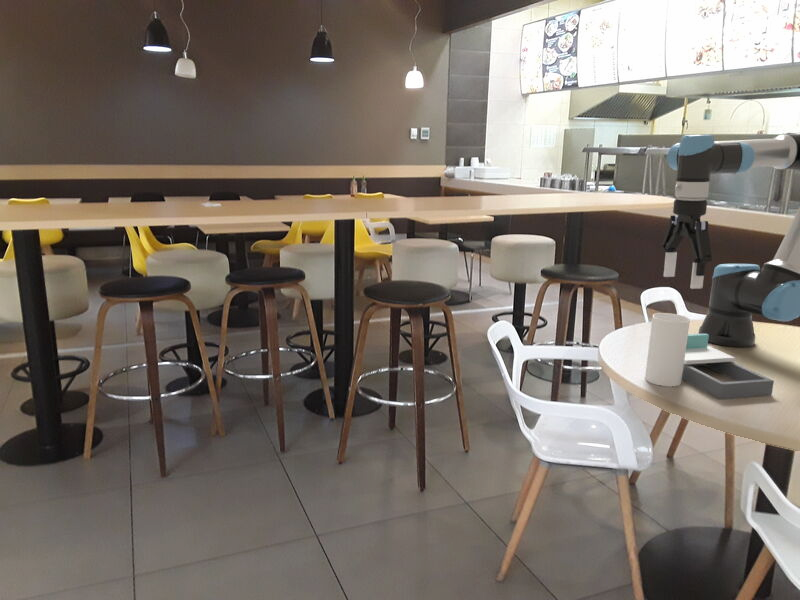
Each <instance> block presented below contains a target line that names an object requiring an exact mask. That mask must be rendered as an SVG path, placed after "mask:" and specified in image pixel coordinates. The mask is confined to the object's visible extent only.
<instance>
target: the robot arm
mask: <svg viewBox="0 0 800 600" xmlns="http://www.w3.org/2000/svg"><path fill="white" fill-rule="evenodd" d="M666 155H667V156H666V160H667V164H668V166H669V168H671V169H672V170H673V171H676V179H675V181H676V182H675V186H674V190H675V192H674V197H675V200H673V210H672V213H673V214H671V215H670V217H669V222H668V223H669V224H668V227H667V229H666V232H665V235H664V236H663V240H662V242H661V246H660V247H661V249H663V250H664V253H665V256H664V266H663V269H664V270H663V275H662V276H663V277H664V278H670V277H671V278H673V277H674V278H675V277H676V268H677V267H676V266H677V257H678V256H677V255H678V247H679V245H680V244H681V243H682V241H683V239H684V237H685V238H686V239H687V240H688V241H689V245H690V246H691V247H690V248H691V252H692V255H693V257H694V260H693V261H692V269H691V275H690V276H691V277H690V278H691V279H690V286H689V287H690V289H692V290H694V289H697V290H698V289H703V286H704V278H705V271H706V263H708V262H712V261H713V254H712V248H711V241H710V235H709V221H707V220H702V221H701V217H702V216H705V215H706V214H707V207H708V201H707V200H706V199H707V198H709V191H710V180H711V175H713V174H717V175H718V174H732V175H733V174H734V175H736V174H741V173H742V174H743V173H745V172H747V171H748V170H749V169H751V168H763V167H764V168H766V167H772V168H773V169H777V170H792V171H793V170H794V171H800V132H796V133H794V132H793V133H789V134H787V133H786V134H778V135H777V136H775V137H773V138H762V139H761V138H760V139H744V140H743V139H740V140H716V141H715V136H714V135H713V134H685V135H683V136H682V137H681V138H680V142H677V143H674V144H673V145H672V146H671V147H670V148H669V150H668V152H667V154H666ZM711 278H712V279H711V286H710V292H709V293H710V295H709V301H708V302H709V303H708V310H707V313H706V315H705V317H704V318H703V322H702V324H701V325H700V326H699V328H698V333H697V334H708V335H709V338H708V343H711V344H714V345H719V346H724V347H732V348H746V347H751V346H754V345H755V342H756V334H755V328H754V322H753V314H754V315H758V316H761V317H764V318H767V319H769V320H775V321H779V322H791V321H793V320H795V319H798V318H799V317H800V206H799V207H798V209H797V211H796V213H795V215H794V217H793V219H792V221H791V224H790V225H789V227H788V229H787V231H786V233H785V235H784V237H783V239H782V241H781V242H780V245H779V247H778V249H777V251H776V253H775V254H774V257H773V259H771V260H770V261H767V262H764V264H763V266H762V267H760V265H759V264H754V263H721V264H718V265H717V266H715V267H714V271H713V275H712V276H711Z"/></svg>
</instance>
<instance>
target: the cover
mask: <svg viewBox="0 0 800 600" xmlns="http://www.w3.org/2000/svg"><path fill="white" fill-rule="evenodd" d="M708 338H709V335H708V334H698V333H693V334H692V333H688V338H687V345H686V352H685V359H684V364H685V365H686V364H701V363H717V362H735V359H736V357H734V356H732V355H730V354H728V353H725V352H723V351H721V350H719V349H716V348H714V347H712V346H710V345H708V344H709V342H708Z"/></svg>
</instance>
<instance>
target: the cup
mask: <svg viewBox="0 0 800 600" xmlns="http://www.w3.org/2000/svg"><path fill="white" fill-rule="evenodd" d="M651 319H652V320H651V327H650V335H649V342H648V351H647V352H648V353H647V357H646V367H645V368H646V369H645V376H644V380H646V381H647V382H649V383H651V384H653V385H657V386H660V385H661V387H668V388H669V387H671V388H672V386H673V387H679V386H680V385H681V384H682V380H683V379H682V374H683V367H684V359H685V352H686V345H687V338H688V334H689V329H690V323H691V322H690V321H691V319H690V318H689V317H687V316H685V315H681V314H677V313H671V312H657V313H653V314H652V318H651Z"/></svg>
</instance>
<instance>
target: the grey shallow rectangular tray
mask: <svg viewBox="0 0 800 600" xmlns="http://www.w3.org/2000/svg"><path fill="white" fill-rule="evenodd" d="M701 366H702V367H703V366H706V367H708V368H710V369H712V370H714V371H716V372H717V373H719V374H722V375H724V376H725V377H728V378H731V379H732V380H733V381H721V380H719V379H717V378H716V377H713V376H711V375H709V374H707V373H705V372H703V371H701V370H699V369H697V368H695V367H701ZM683 379H684V380H683ZM682 380H683V381H685V382H687V383H689V384H690V385H692V384H693V385H692V386H695V388H699V389H700V390H702V391H703V392H705V393H707V394H709V395H711V396H713V397H714V398H716V399H719V400H729V399H742V398H752V397H753V398H754V397H767V396H772V394H773V388H774V383H775V380H773V379H771V378H769V377H767V376H764V375H763V374H760V373H758V372H756V371H753V370H751V369H750V368H747V367H745V366H743V365H740V364H739V363H736V362H735V361H733V362H717V363H701V364H686V365H685V364H684V367H683V374H682ZM734 380H735V381H734Z"/></svg>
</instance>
